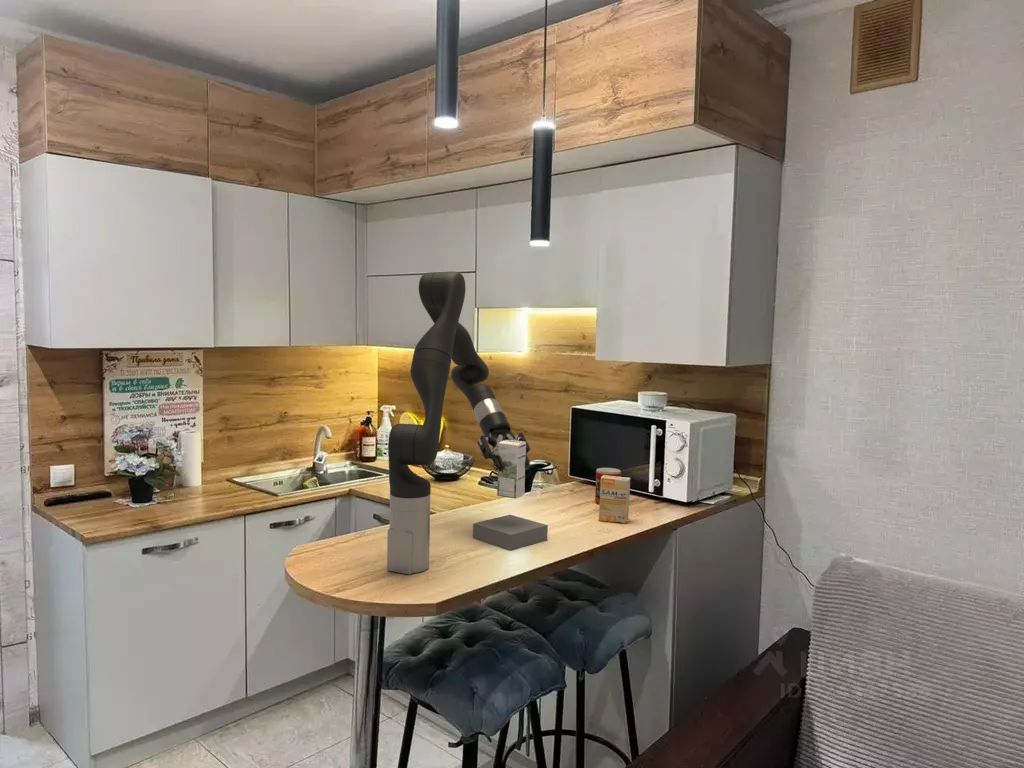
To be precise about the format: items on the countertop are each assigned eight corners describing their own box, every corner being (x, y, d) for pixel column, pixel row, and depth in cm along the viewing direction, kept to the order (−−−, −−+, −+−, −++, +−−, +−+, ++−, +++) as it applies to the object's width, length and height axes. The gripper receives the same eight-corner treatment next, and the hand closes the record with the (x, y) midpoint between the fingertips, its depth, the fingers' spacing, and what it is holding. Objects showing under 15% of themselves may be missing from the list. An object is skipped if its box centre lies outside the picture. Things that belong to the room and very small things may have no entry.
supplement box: (598, 521, 210) (599, 477, 209) (601, 517, 214) (603, 474, 213) (626, 524, 207) (628, 480, 206) (628, 520, 212) (630, 476, 211)
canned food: (591, 500, 235) (592, 467, 234) (614, 500, 237) (615, 467, 236) (599, 506, 227) (601, 472, 227) (623, 505, 229) (624, 472, 229)
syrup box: (525, 494, 190) (527, 440, 189) (515, 499, 185) (517, 444, 184) (505, 492, 193) (507, 438, 191) (496, 496, 187) (497, 441, 186)
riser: (510, 550, 180) (510, 534, 179) (472, 538, 189) (473, 523, 189) (547, 539, 190) (547, 525, 189) (509, 528, 199) (510, 514, 199)
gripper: (474, 411, 189) (498, 462, 180) (518, 409, 197) (543, 457, 189) (463, 428, 194) (486, 479, 185) (507, 425, 202) (530, 474, 193)
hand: (514, 468), depth 187 cm, fingers closed on syrup box, 7 cm apart
